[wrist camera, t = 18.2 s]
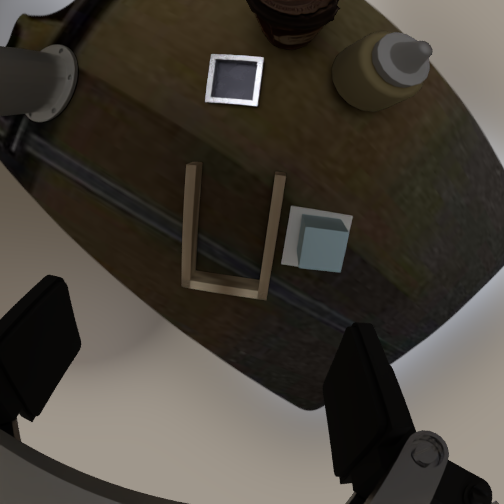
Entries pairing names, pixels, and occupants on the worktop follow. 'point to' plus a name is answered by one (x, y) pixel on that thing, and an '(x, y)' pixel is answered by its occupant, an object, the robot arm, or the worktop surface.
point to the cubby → (189, 243)
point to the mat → (294, 229)
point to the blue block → (321, 243)
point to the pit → (234, 80)
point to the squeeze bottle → (381, 70)
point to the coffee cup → (292, 19)
